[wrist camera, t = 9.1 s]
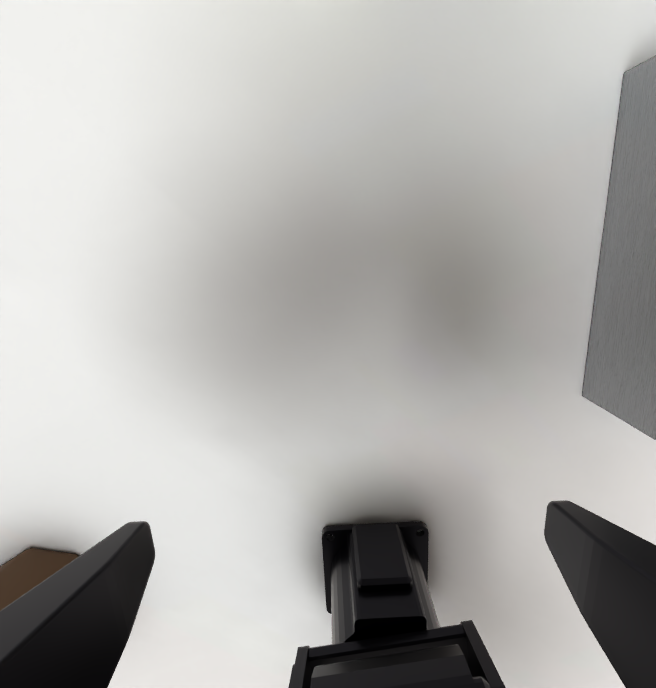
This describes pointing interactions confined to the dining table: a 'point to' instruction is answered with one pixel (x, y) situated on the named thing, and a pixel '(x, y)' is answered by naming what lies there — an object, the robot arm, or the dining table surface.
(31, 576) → the beer bottle
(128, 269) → the dining table surface
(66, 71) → the dining table surface
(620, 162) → the grey block with socket
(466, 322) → the dining table surface
